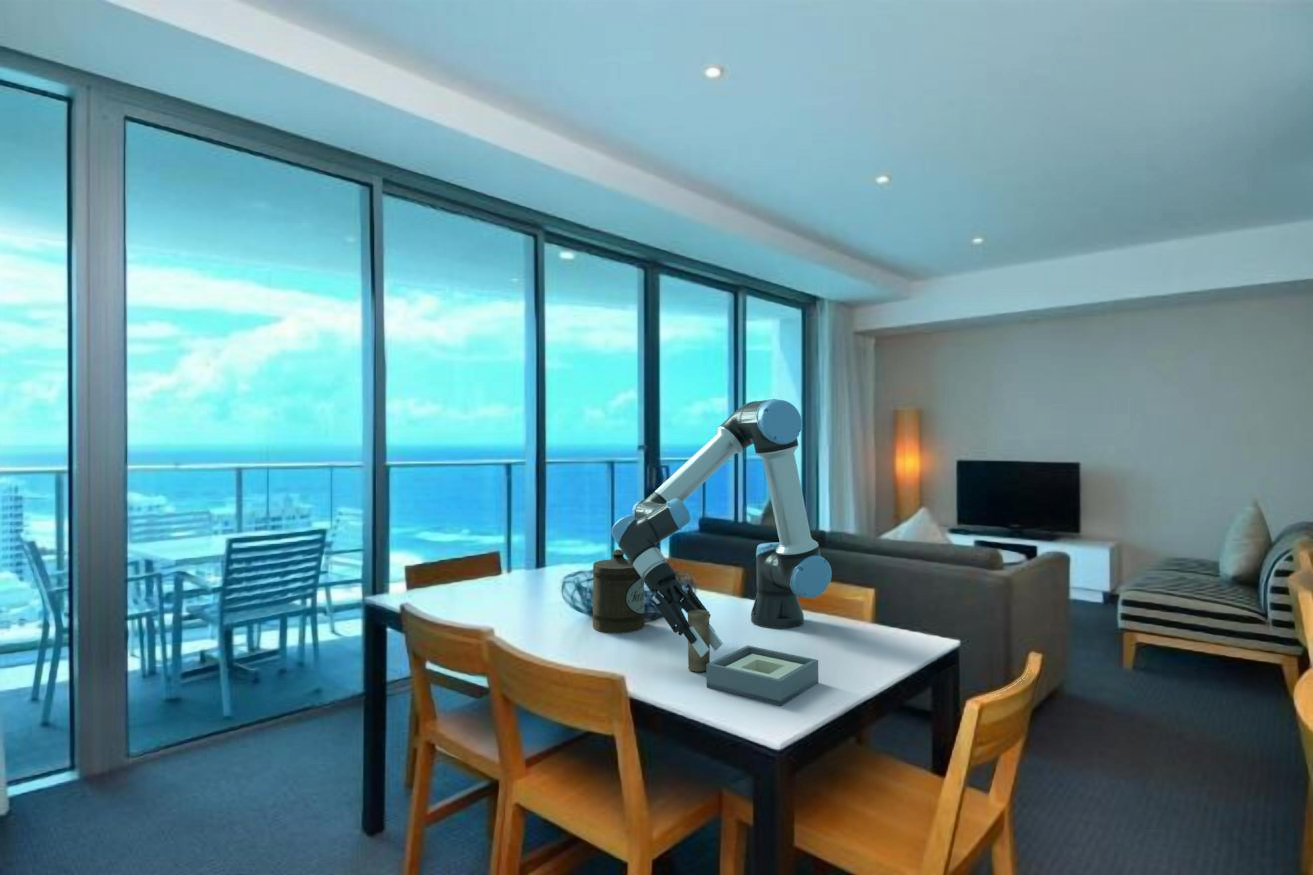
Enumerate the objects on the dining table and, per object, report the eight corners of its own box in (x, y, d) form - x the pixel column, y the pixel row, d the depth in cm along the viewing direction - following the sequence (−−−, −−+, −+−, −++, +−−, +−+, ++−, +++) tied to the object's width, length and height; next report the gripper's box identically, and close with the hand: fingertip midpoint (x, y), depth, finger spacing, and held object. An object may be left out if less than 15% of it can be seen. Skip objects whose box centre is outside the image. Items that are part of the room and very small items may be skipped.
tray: (747, 666, 168) (747, 645, 168) (818, 682, 157) (818, 659, 157) (706, 687, 155) (706, 664, 155) (780, 706, 144) (780, 681, 144)
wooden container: (643, 633, 197) (642, 553, 197) (590, 633, 197) (589, 554, 197) (645, 619, 212) (644, 545, 212) (595, 619, 212) (594, 545, 212)
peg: (696, 662, 170) (695, 608, 170) (714, 667, 167) (713, 611, 167) (684, 668, 166) (683, 612, 166) (701, 672, 163) (701, 616, 163)
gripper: (669, 574, 183) (724, 650, 173) (622, 586, 169) (679, 670, 159) (685, 555, 180) (742, 631, 169) (639, 566, 165) (699, 650, 155)
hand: (712, 650), depth 164 cm, fingers closed on peg, 5 cm apart
